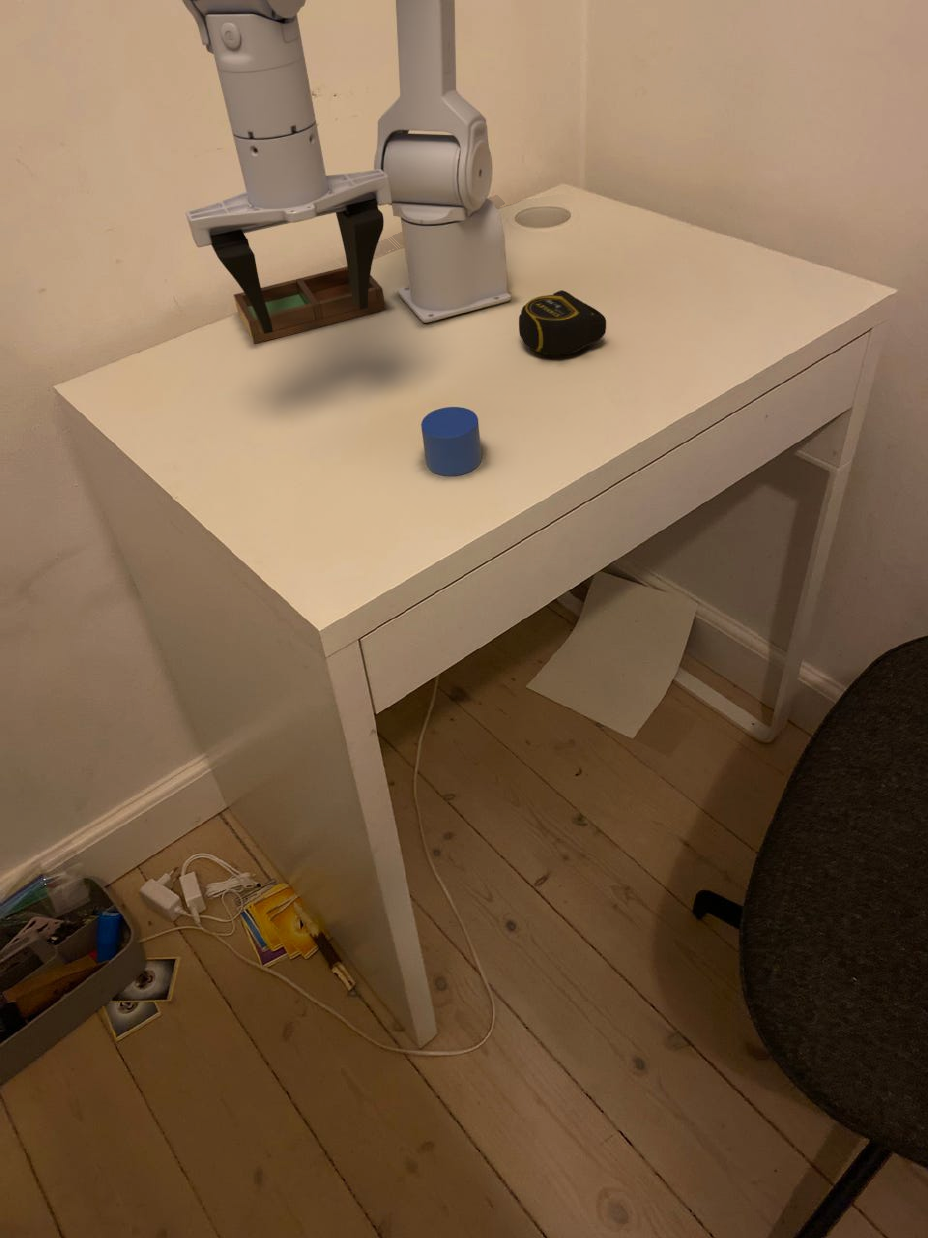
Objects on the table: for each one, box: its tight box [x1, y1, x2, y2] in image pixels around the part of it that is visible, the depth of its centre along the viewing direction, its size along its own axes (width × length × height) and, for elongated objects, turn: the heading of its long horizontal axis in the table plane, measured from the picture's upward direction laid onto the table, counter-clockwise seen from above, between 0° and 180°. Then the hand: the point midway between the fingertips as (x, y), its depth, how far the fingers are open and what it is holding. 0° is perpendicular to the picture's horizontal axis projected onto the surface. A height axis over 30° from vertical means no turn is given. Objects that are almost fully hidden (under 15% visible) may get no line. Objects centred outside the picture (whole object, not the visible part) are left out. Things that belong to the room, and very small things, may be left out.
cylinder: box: [420, 406, 482, 477], centre depth 72 cm, size 4×4×4 cm
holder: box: [233, 266, 386, 345], centre depth 94 cm, size 14×7×2 cm, turn 112°
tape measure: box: [518, 290, 607, 356], centre depth 84 cm, size 7×7×4 cm
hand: (313, 315), depth 72 cm, fingers open, 7 cm apart
